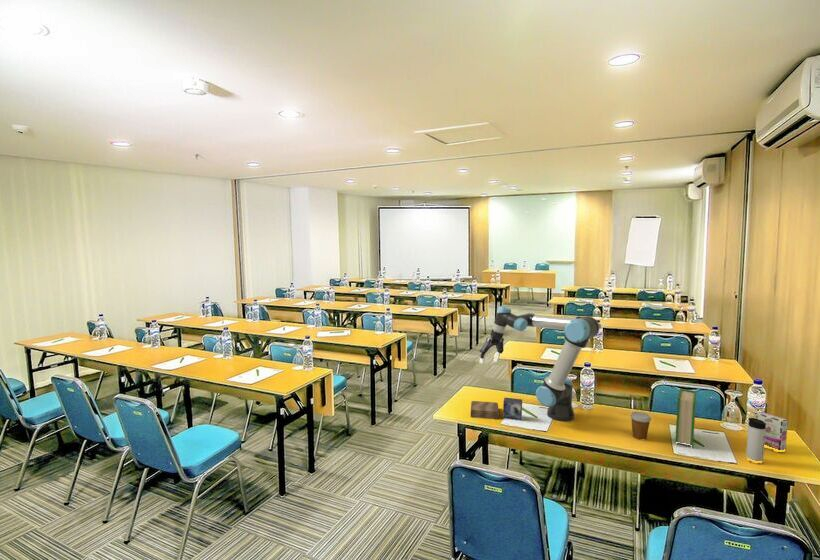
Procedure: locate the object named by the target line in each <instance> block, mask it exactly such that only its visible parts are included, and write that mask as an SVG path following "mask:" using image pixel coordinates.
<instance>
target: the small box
mask: <svg viewBox="0 0 820 560" xmlns="http://www.w3.org/2000/svg"><path fill="white" fill-rule="evenodd" d="M502 408H503V411H502V418H503V419H509V420H514V419H515V420H516V421H522V418H523V399H522V398H521V399H520V398H514V397H513V398H512V397H504V398H503V405H502ZM515 420H514V421H515Z"/></svg>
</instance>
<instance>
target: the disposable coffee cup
mask: <svg viewBox="0 0 820 560" xmlns="http://www.w3.org/2000/svg"><path fill="white" fill-rule="evenodd" d="M629 415H630V416H629V417H630V419H631V429H632V437H633V438H634V437H635V439H636V438H638V439H637V440H640V439H645V440H647V437H648V432H649V428H650V424H651V423H650V422H651V421H652V418H651V416H650V414H648V413H645V412H641V411H633V412H631V414H629Z"/></svg>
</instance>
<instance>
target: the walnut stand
mask: <svg viewBox="0 0 820 560" xmlns="http://www.w3.org/2000/svg"><path fill="white" fill-rule="evenodd" d="M470 404H471V405H470V418H479V419H494V420H500V418H499V417H500V415H499V414H500V413H499V412H500V411H499V410H500V409H499V404H498V402H497V401H496V402H493V401H479V400H471V403H470Z"/></svg>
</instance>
